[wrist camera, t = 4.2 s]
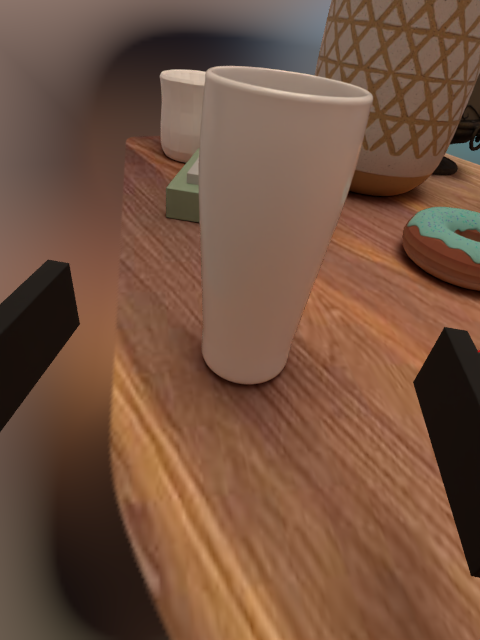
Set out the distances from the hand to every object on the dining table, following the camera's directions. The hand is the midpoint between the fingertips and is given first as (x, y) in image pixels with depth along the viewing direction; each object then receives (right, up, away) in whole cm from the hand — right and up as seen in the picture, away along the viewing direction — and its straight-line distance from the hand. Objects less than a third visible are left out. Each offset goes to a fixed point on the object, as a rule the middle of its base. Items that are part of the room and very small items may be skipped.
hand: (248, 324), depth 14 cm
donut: (+21, +5, +24) cm, 32 cm away
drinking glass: (0, -2, +11) cm, 11 cm away
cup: (-7, +24, +42) cm, 49 cm away
